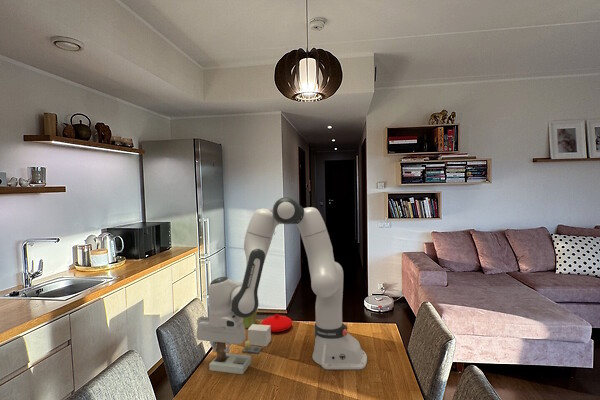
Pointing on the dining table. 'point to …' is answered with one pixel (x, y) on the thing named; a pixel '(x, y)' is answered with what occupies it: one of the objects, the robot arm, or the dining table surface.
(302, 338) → the dining table surface
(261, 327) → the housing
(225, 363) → the peg board
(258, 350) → the plate
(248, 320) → the plant pot
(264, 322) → the red domed lid
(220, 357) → the peg
